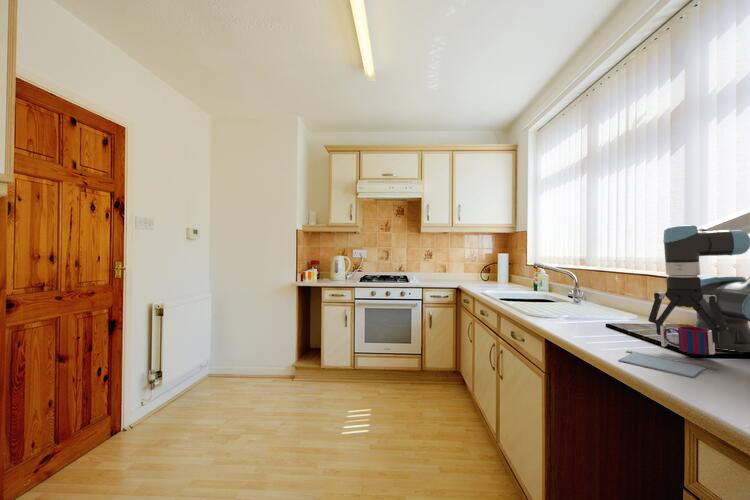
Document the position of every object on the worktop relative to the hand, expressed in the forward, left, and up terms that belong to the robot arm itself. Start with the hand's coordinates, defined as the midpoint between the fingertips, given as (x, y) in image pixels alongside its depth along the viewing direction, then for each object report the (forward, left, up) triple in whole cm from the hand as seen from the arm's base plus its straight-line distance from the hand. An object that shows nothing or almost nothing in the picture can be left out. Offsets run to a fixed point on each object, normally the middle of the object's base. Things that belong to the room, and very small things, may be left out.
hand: (687, 349), depth 97 cm
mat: (+15, -2, -2) cm, 16 cm away
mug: (0, 0, 0) cm, 1 cm away
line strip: (+8, -2, -2) cm, 9 cm away
